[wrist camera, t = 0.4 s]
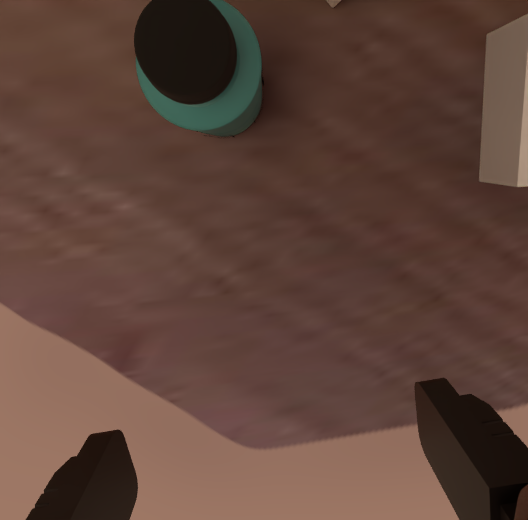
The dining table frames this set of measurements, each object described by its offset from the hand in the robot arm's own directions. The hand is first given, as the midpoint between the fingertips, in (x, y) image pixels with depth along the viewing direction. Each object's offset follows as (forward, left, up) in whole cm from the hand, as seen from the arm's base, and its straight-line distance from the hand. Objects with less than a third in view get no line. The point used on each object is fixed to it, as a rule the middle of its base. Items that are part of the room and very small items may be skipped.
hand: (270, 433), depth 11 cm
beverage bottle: (-12, -2, -28) cm, 31 cm away
